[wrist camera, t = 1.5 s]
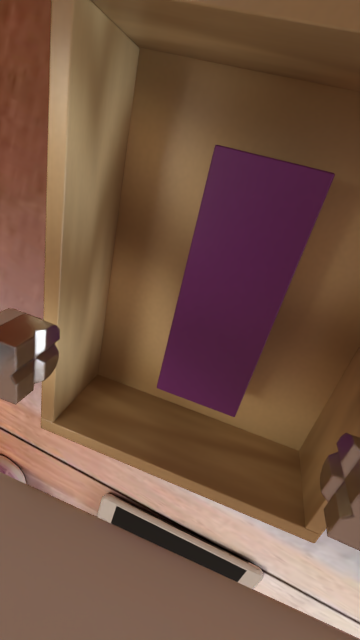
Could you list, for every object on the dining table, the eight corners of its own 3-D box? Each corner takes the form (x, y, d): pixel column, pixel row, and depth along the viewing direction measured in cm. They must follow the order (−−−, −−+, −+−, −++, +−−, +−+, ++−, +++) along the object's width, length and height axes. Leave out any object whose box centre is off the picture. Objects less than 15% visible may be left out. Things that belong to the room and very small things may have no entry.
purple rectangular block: (225, 150, 14) (214, 143, 12) (325, 174, 13) (336, 173, 11) (171, 362, 20) (155, 388, 17) (240, 387, 19) (234, 418, 16)
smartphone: (101, 495, 27) (265, 577, 25) (105, 489, 28) (265, 568, 26) (89, 540, 31) (232, 614, 29) (92, 533, 31) (233, 606, 29)
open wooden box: (133, 29, 14) (51, -59, 9) (515, 102, 12) (704, 39, 6) (93, 373, 23) (40, 428, 18) (305, 453, 20) (314, 544, 15)
